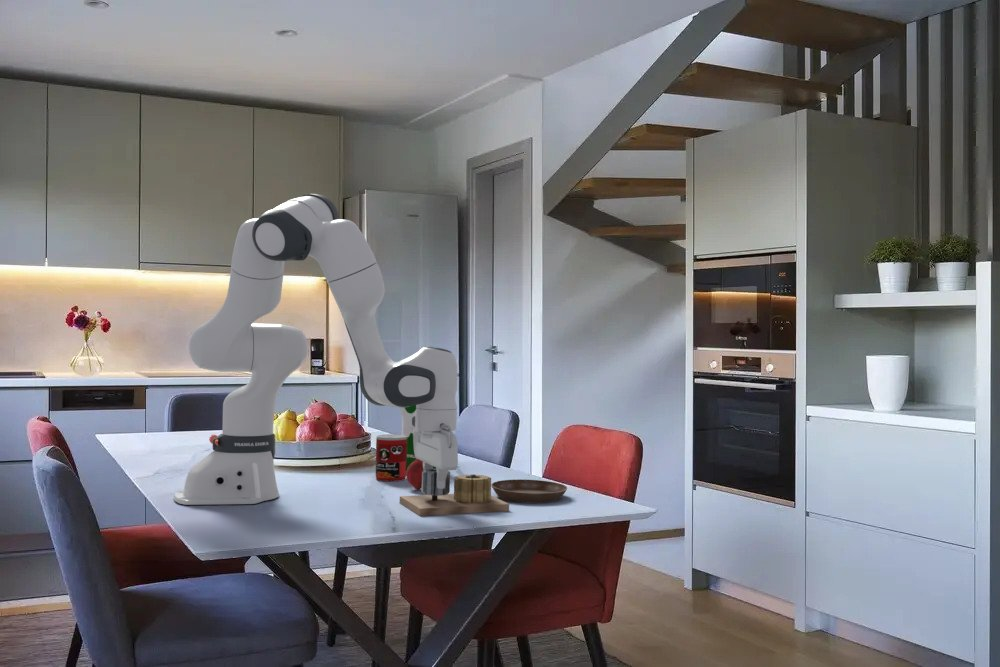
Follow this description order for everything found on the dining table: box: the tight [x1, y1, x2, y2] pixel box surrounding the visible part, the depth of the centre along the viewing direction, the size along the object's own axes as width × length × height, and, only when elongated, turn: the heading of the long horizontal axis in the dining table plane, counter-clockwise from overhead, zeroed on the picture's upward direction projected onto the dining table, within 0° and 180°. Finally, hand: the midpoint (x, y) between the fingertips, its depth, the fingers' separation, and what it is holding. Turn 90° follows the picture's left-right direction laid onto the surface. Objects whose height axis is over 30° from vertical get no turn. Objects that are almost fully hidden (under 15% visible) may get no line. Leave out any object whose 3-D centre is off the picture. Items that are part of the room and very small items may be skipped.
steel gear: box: [421, 468, 451, 496], centre depth 210 cm, size 6×6×5 cm
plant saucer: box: [491, 478, 568, 504], centre depth 224 cm, size 18×18×3 cm
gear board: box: [399, 474, 510, 517], centre depth 210 cm, size 20×15×7 cm
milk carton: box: [400, 405, 437, 472], centre depth 261 cm, size 9×9×20 cm
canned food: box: [375, 433, 407, 482], centre depth 246 cm, size 8×8×11 cm
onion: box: [406, 458, 424, 491], centre depth 231 cm, size 6×6×8 cm
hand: (434, 485), depth 209 cm, fingers closed on steel gear, 6 cm apart
